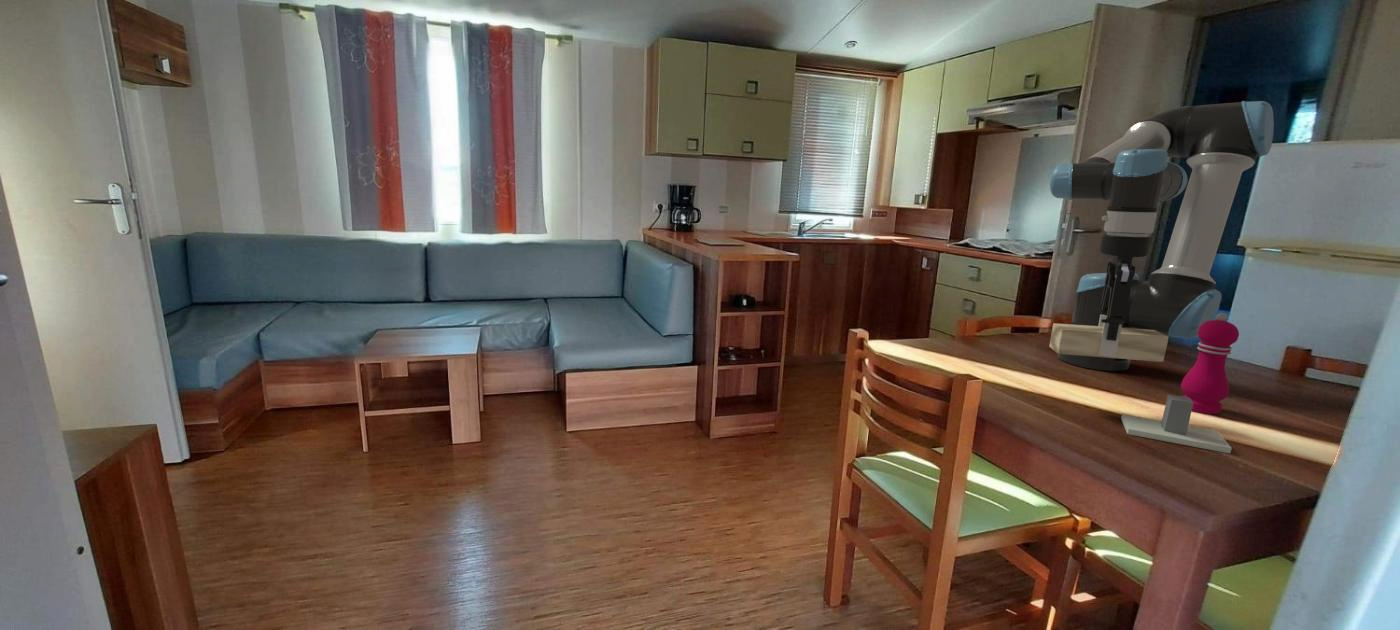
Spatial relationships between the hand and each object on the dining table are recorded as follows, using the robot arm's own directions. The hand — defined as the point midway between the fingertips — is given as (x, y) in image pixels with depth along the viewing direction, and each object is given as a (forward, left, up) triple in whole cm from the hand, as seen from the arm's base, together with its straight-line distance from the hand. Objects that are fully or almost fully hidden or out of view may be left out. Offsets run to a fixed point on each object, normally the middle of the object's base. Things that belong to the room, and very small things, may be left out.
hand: (1104, 350), depth 111 cm
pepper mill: (-11, +19, -12) cm, 25 cm away
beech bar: (0, 0, -1) cm, 1 cm away
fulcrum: (+9, +11, -12) cm, 19 cm away
